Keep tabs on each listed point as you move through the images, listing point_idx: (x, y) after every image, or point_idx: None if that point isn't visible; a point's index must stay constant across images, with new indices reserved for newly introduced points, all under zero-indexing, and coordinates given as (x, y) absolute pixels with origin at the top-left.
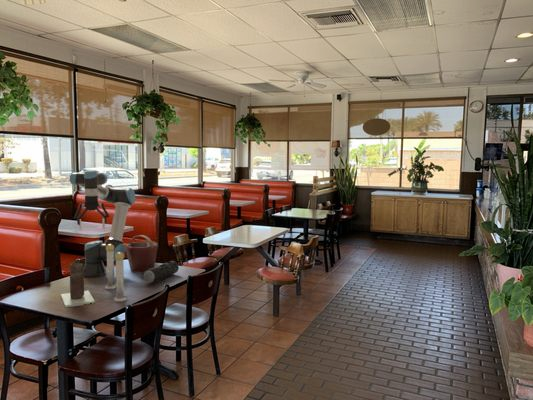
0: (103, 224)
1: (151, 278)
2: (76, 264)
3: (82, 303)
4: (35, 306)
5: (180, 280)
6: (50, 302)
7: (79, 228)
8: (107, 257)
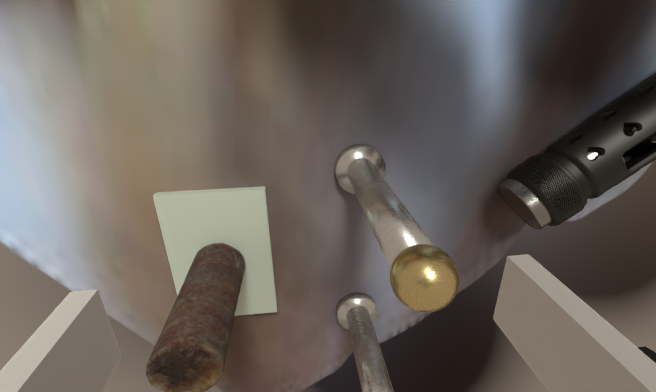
0: (547, 386)
1: (522, 217)
2: (186, 366)
3: (238, 314)
4: (78, 272)
5: (624, 182)
6: (125, 250)
7: (56, 322)
8: (381, 249)
